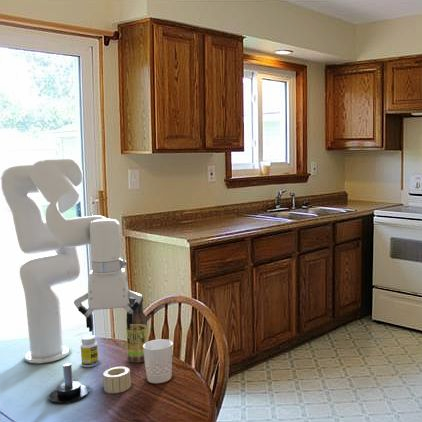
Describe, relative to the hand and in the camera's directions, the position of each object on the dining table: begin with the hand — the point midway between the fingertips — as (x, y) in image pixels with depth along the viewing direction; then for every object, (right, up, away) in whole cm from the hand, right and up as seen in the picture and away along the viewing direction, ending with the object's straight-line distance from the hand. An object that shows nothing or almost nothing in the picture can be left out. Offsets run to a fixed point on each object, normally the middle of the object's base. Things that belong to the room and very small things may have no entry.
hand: (110, 328), depth 143 cm
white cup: (+12, -16, +6) cm, 21 cm away
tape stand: (-10, -17, -3) cm, 20 cm away
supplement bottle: (-12, -15, +17) cm, 26 cm away
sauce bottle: (+2, -14, +20) cm, 24 cm away
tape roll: (+2, -16, +1) cm, 16 cm away
